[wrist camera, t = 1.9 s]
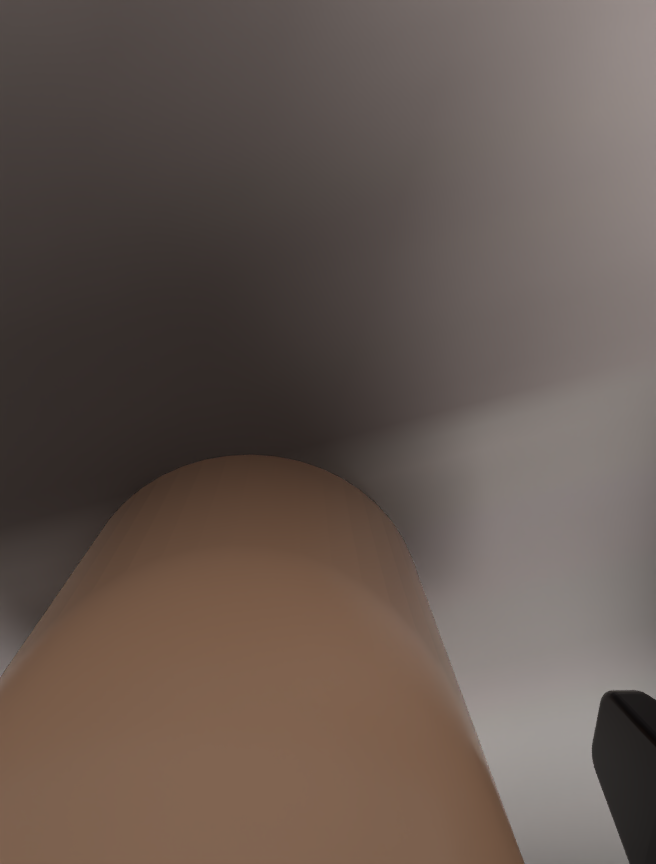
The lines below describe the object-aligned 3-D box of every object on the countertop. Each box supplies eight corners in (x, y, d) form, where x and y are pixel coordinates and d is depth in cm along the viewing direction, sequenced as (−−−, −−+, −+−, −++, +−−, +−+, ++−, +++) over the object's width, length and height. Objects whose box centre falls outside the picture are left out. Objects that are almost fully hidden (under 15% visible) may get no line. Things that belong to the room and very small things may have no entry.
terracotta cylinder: (407, 747, 10) (636, 1778, 3) (94, 751, 10) (-360, 1884, 3) (433, 456, 8) (932, 1232, 2) (65, 452, 8) (-947, 1345, 2)
